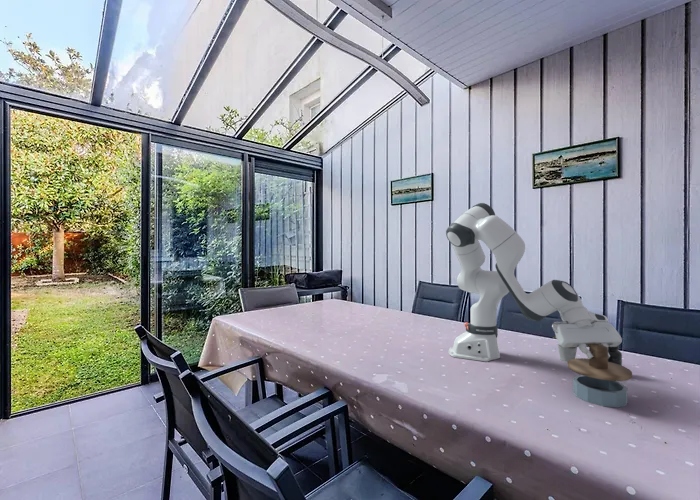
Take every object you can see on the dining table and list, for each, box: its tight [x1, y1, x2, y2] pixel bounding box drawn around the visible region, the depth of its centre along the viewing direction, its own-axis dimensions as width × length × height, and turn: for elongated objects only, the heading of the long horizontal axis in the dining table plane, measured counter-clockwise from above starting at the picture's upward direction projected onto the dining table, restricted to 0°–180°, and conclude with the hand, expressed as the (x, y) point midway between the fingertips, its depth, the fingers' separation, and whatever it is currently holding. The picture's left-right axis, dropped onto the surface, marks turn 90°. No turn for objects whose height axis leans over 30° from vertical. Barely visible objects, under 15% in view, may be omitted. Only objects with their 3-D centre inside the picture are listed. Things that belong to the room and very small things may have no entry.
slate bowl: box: [572, 374, 629, 408], centre depth 110 cm, size 14×14×4 cm
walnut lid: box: [567, 344, 633, 382], centre depth 110 cm, size 17×17×8 cm
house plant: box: [552, 336, 578, 363], centre depth 144 cm, size 14×14×16 cm
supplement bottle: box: [608, 344, 623, 366], centre depth 129 cm, size 7×7×12 cm
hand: (599, 357), depth 109 cm, fingers closed on walnut lid, 3 cm apart
